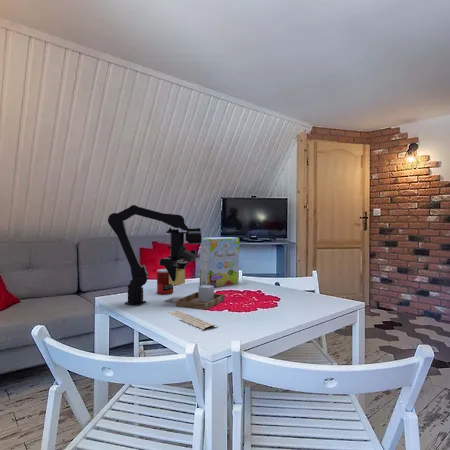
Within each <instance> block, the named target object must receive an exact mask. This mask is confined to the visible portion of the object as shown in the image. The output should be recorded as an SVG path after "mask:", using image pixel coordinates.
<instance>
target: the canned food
mask: <svg viewBox="0 0 450 450" xmlns="http://www.w3.org/2000/svg"><path fill="white" fill-rule="evenodd" d="M156 291H157V294H158V295H172V294H173V293H174V285H172V284H169V273H168V271H167V269H166V268H162V269H157V270H156Z"/></svg>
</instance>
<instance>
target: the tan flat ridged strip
mask: <svg viewBox="0 0 450 450" xmlns="http://www.w3.org/2000/svg"><path fill="white" fill-rule="evenodd" d="M168 314H169V315H171V316H174V317H175V318H178V321H179V322H181V323H184V324H186V323H187V325H188V324H189V326H191V325H192V326H191V327H193V326H194V327H193V328H195V327H196V328H195V329H197V328H199V329H198V330H200V329H201V330H200V331H202V330H203V331H204V330H205V329H207V328H208V327H213V326H217V325H216V324H213V323H210V322H207V321H205V320H202V319H200V318H197V317H196V316H192V315H190V314H188V313H185V312H184V311H180V310H172V311H169V312H168Z"/></svg>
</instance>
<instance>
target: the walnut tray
mask: <svg viewBox="0 0 450 450" xmlns="http://www.w3.org/2000/svg"><path fill="white" fill-rule="evenodd" d="M180 298H181V299H179V300H176V303H175V307H177V308H185V309H186V308H188V309H196V310H204V311H207V310H209V309H211V308H212V307H214V306H216V305H218V304H220V303H222V302H223V301H225V299H226V298H225V294H220V293H219V294H218V293H214V300H212V301H210V302H202V301H198V291H195V292H194V293H191V294H189V295H186V296H184V297H180Z"/></svg>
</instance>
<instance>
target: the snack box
mask: <svg viewBox="0 0 450 450" xmlns="http://www.w3.org/2000/svg"><path fill="white" fill-rule="evenodd" d="M239 254H240V237H233V236H232V237H231V236H229V237H228V236H227V237H225V236H221V237H217V236H216V237H215V236H214V237H213V236H212V237H202V240H201V244H200V254H199V257H200V259H199V262H200V263H199V287H200V286H203V285H209V286H214V288H218V287H220V288H221V287H225V286H232V285H238V284H239V268H240V267H239V265H240V262H239V261H240V255H239Z"/></svg>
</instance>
